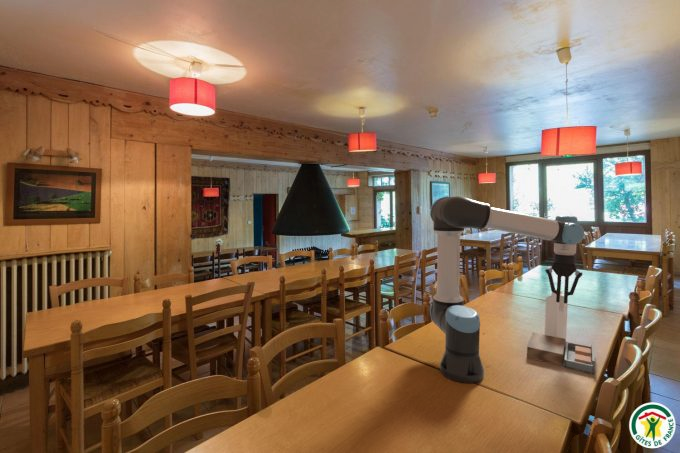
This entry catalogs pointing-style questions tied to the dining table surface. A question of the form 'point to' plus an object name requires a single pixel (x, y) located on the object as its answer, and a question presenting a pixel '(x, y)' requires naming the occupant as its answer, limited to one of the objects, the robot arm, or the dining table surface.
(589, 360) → the tile
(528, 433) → the dining table surface
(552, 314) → the milk
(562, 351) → the brown flat block
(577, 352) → the tile
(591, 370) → the tray
